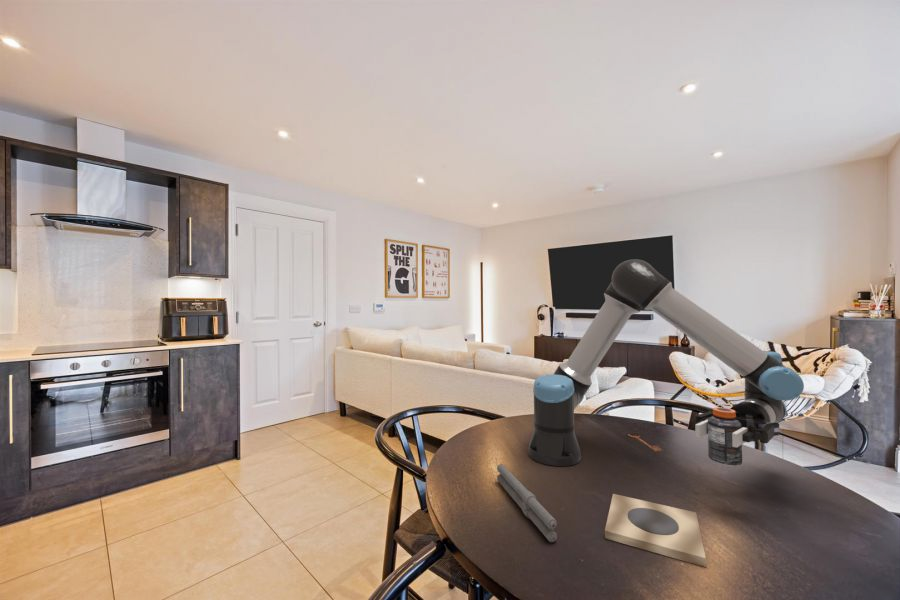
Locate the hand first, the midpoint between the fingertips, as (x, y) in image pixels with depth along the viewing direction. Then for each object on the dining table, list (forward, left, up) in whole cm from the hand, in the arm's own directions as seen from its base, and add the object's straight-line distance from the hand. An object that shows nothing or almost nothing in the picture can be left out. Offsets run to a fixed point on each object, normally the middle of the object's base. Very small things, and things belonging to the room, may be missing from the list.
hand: (715, 435), depth 76 cm
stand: (-12, -10, -17) cm, 23 cm away
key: (-14, +43, -18) cm, 48 cm away
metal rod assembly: (-37, -16, -18) cm, 44 cm away
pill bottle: (+2, +5, -7) cm, 8 cm away
